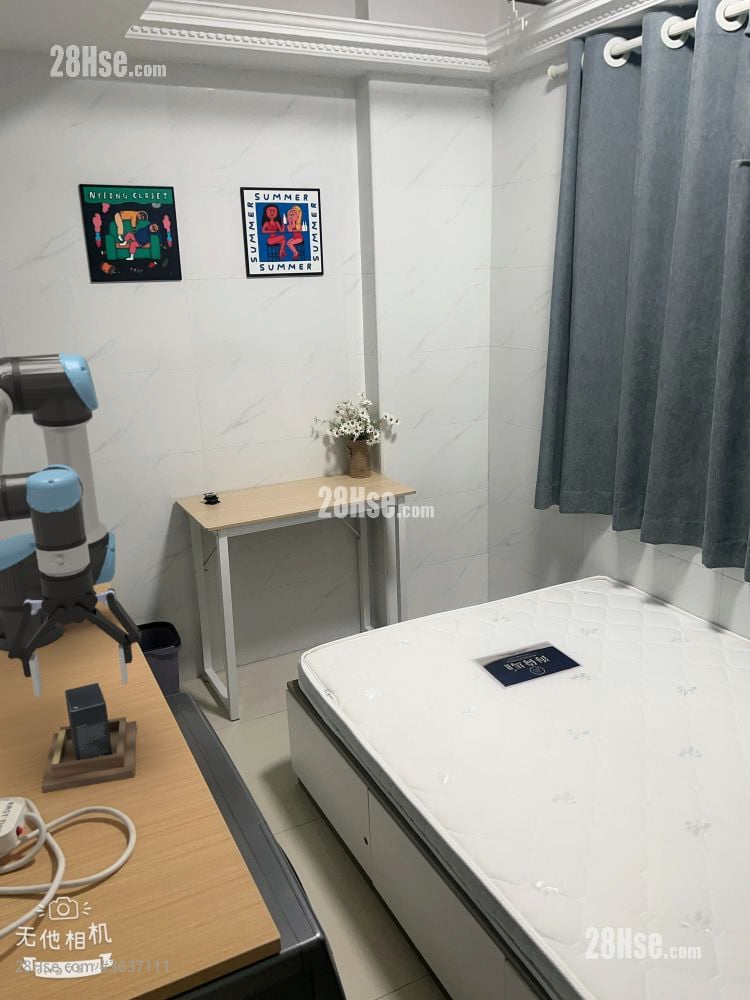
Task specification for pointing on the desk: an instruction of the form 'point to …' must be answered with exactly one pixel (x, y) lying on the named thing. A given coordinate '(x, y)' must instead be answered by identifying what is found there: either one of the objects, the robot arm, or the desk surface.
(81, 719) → the box
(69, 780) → the socket
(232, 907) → the desk surface
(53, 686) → the desk surface
